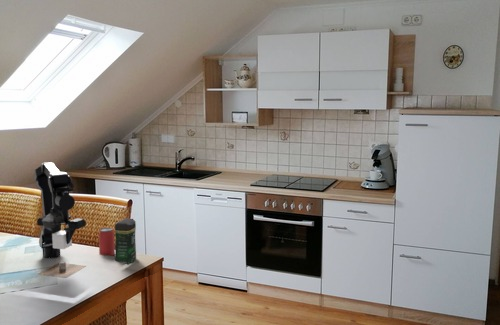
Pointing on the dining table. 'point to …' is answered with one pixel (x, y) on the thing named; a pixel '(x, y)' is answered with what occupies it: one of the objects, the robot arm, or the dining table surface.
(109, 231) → the beer can
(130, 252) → the coffee jar
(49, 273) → the post base
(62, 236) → the white block
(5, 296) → the dining table surface
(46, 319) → the dining table surface
